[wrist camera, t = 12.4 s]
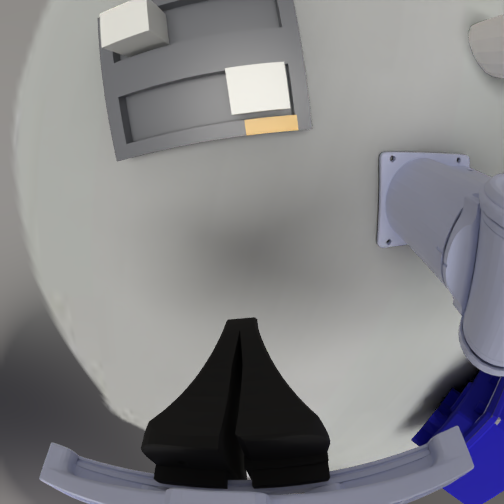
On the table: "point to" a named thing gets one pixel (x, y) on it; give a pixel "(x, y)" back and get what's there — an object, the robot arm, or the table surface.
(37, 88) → the table surface
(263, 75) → the white block
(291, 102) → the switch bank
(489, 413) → the blue valve with handwheel
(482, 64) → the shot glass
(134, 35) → the white rectangular block
